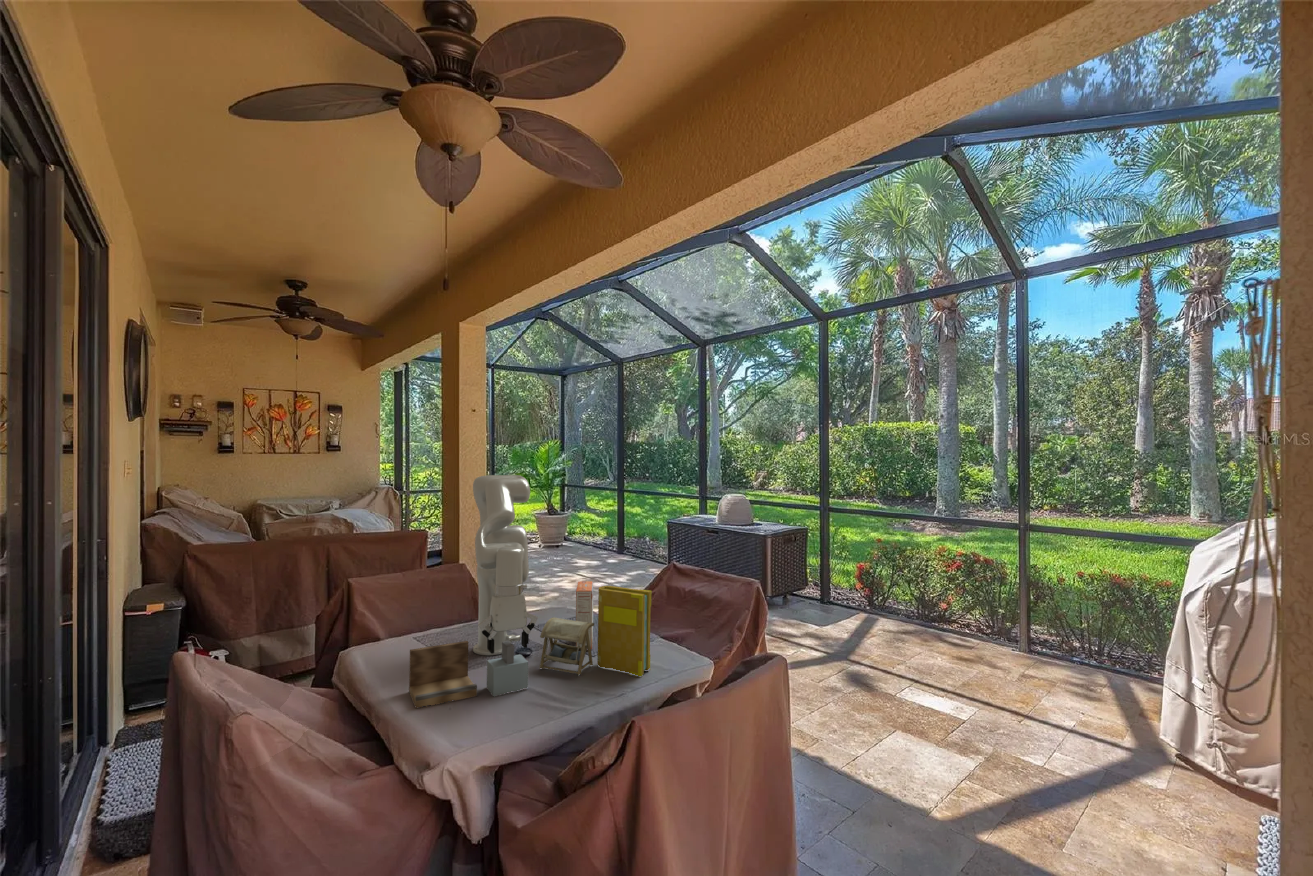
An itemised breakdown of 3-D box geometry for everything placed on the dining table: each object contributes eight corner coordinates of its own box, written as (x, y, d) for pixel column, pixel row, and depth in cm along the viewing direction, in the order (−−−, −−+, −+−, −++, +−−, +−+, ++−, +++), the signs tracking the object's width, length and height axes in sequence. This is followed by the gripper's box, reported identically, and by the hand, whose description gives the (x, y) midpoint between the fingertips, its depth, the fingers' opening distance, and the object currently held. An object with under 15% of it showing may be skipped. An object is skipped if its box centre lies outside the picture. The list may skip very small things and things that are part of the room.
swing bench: (538, 670, 184) (539, 623, 184) (553, 660, 193) (554, 615, 193) (580, 677, 179) (580, 629, 179) (594, 666, 188) (594, 620, 188)
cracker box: (576, 637, 215) (577, 580, 215) (593, 637, 216) (593, 580, 216) (574, 651, 201) (575, 590, 201) (592, 650, 202) (593, 590, 202)
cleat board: (466, 681, 175) (467, 640, 175) (476, 696, 164) (477, 653, 164) (409, 692, 166) (409, 649, 166) (415, 708, 156) (416, 663, 156)
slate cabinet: (520, 681, 175) (520, 637, 176) (527, 689, 169) (528, 644, 170) (486, 687, 170) (487, 643, 170) (493, 696, 164) (494, 650, 164)
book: (650, 669, 185) (651, 590, 186) (640, 677, 179) (642, 595, 180) (603, 660, 192) (605, 584, 193) (593, 667, 186) (594, 589, 187)
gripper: (533, 584, 178) (532, 641, 177) (475, 590, 169) (474, 650, 168) (541, 589, 171) (541, 648, 171) (482, 596, 162) (481, 658, 162)
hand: (508, 649), depth 170 cm, fingers open, 9 cm apart
